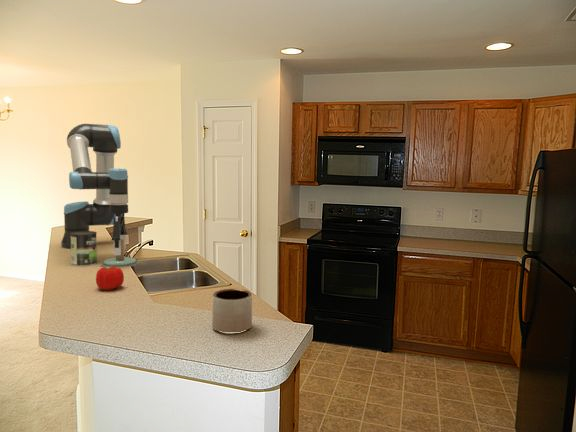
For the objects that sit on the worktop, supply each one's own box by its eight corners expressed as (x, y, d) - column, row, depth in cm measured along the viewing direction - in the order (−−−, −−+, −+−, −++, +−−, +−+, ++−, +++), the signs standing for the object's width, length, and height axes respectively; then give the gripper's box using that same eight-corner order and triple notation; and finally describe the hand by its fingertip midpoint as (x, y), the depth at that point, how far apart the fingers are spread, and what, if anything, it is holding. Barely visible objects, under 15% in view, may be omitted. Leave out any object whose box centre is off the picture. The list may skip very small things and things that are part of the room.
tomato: (128, 287, 150) (128, 267, 149) (106, 293, 143) (106, 272, 142) (111, 283, 155) (111, 263, 154) (89, 289, 147) (89, 268, 147)
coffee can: (102, 262, 187) (101, 231, 185) (87, 268, 177) (86, 235, 175) (82, 261, 189) (81, 230, 187) (65, 266, 179) (64, 233, 177)
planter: (204, 326, 116) (204, 293, 114) (235, 317, 123) (236, 286, 122) (227, 339, 108) (228, 303, 107) (259, 328, 115) (260, 294, 114)
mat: (106, 260, 190) (106, 259, 190) (138, 260, 193) (138, 258, 193) (99, 268, 177) (99, 266, 177) (134, 267, 180) (134, 265, 180)
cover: (107, 259, 190) (106, 237, 189) (137, 259, 193) (136, 237, 192) (101, 266, 177) (100, 242, 176) (133, 265, 180) (133, 242, 179)
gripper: (114, 201, 193) (115, 246, 196) (104, 206, 169) (105, 258, 172) (131, 201, 195) (132, 246, 197) (123, 206, 171) (124, 257, 173)
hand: (119, 252), depth 184 cm, fingers open, 13 cm apart
